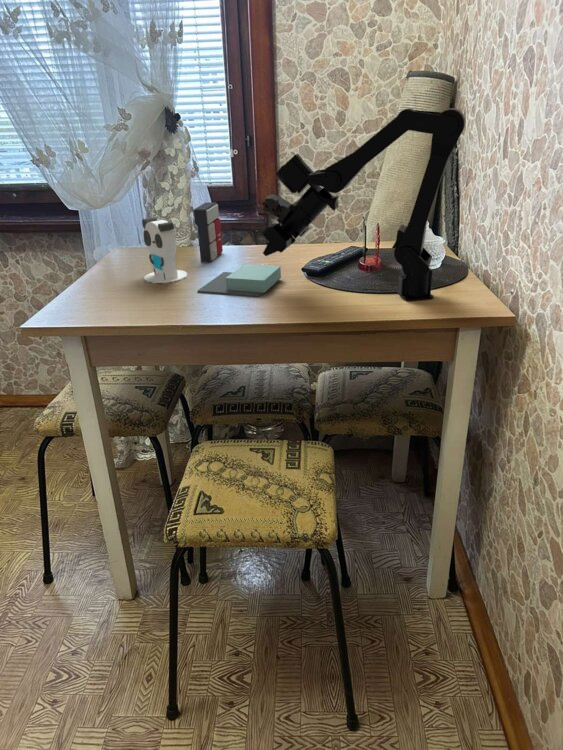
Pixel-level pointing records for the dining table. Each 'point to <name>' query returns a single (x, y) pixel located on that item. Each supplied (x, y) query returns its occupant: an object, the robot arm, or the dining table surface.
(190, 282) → the dining table surface
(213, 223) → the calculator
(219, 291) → the mat
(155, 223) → the panda figurine
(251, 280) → the board
